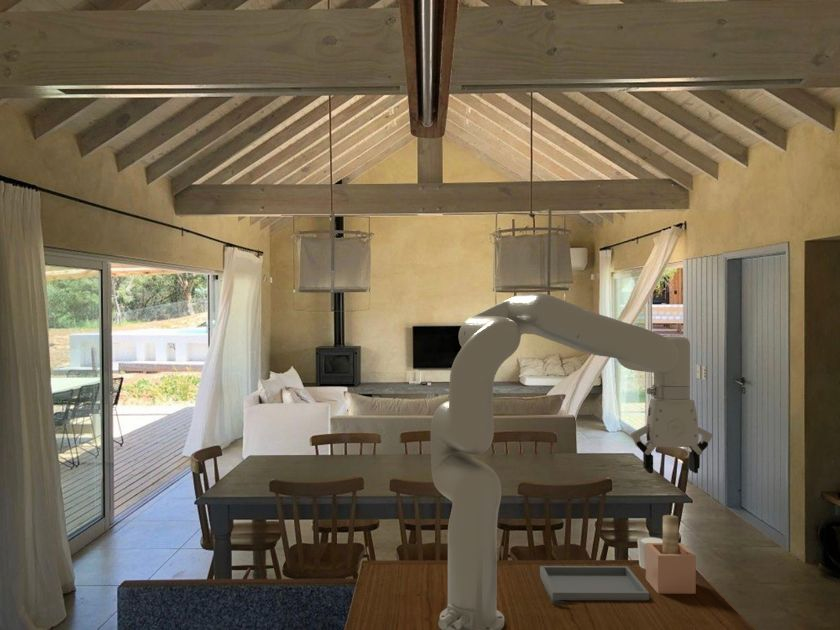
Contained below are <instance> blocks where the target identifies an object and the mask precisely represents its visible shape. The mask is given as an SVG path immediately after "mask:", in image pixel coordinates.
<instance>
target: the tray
mask: <svg viewBox="0 0 840 630" xmlns="http://www.w3.org/2000/svg"><path fill="white" fill-rule="evenodd" d="M539 569H540V570H539V578H540V579H541V582H542V584H544V585H543V586H544V588H545V591H546V593H547V596H548V598H549V599H550V602H551V604H552V605H553V606H554V605H555V606H560V605H563V606H564V605H565V606H566V605H567V606H569V605H570V606H573V605H575V606H576V605H577V606H578V605H579V604H578V603H573V602H569V601H650V592H649V591H648V590H647V588H646V587H645V586H644V585H643V583H642V582H641V581H640V580H639V578H638V577H637V576H636V575H635V573H634V572H633V571H632V570H631V568H630V567H629V566H628V565H615V566H614V565H610V566H609V565H540V566H539Z"/></svg>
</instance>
